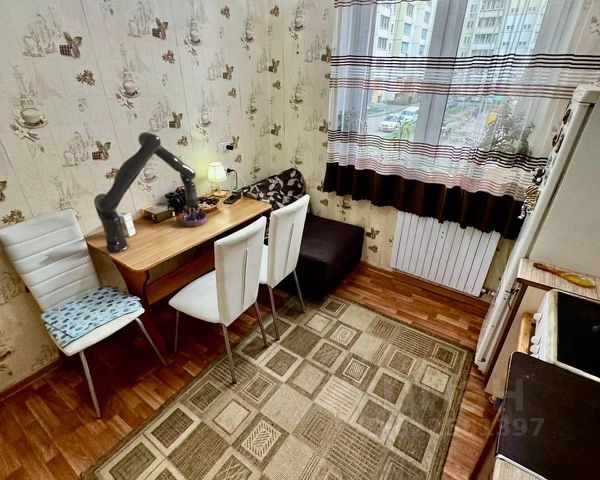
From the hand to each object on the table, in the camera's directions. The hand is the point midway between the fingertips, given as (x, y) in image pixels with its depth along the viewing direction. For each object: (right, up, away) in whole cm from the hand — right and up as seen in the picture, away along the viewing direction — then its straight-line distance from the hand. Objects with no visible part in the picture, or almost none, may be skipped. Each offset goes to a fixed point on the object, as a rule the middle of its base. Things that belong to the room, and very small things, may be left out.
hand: (195, 220), depth 215 cm
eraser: (0, 0, 0) cm, 0 cm away
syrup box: (-36, -11, -19) cm, 42 cm away
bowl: (0, -1, -1) cm, 2 cm away
